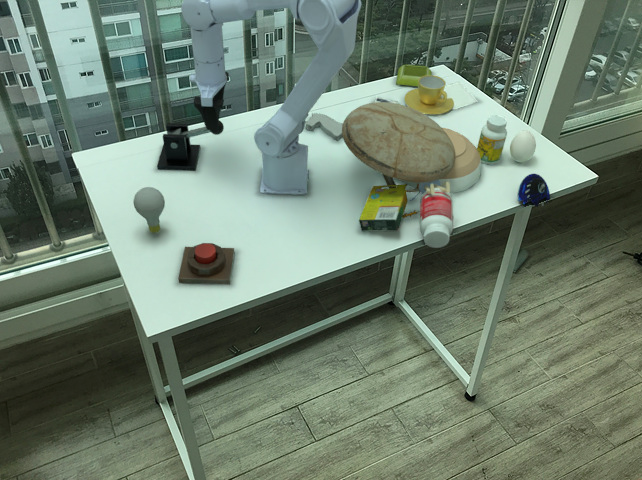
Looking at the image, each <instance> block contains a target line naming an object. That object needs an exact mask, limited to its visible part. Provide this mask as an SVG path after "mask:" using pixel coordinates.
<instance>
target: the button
mask: <svg viewBox="0 0 642 480" xmlns="http://www.w3.org/2000/svg"><path fill="white" fill-rule="evenodd" d="M209 243H210V242H203V244H202V243H199V244H200V245H199V244H197V245H198V246H197V247H196V249H195V256H196V260H197V262H199V263H200V264H210V263H212V262H214V261H215V259H216V249H215V247H214V246H213V245H212V244H209Z"/></svg>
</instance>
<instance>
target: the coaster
mask: <svg viewBox="0 0 642 480" xmlns="http://www.w3.org/2000/svg"><path fill="white" fill-rule="evenodd" d="M444 91H445V92H446V93H447V99H448V98H452V99H453V101H454V106H453V107H452V109H451V110H452V111H455V110H458V109H460V108H463V107H467V106H470V105H472V104H476V103H479V101H478V99H476V97H475V96H474V95H473V94H472V93H471V92H470V91H469V90H468V89H467V88H466V87H465V86H464V84H462V83H461V82H460V81H456V82H453V83H449V84H446V85H445V88H444ZM441 98H442V99H443V95H441Z"/></svg>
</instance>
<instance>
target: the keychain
mask: <svg viewBox="0 0 642 480" xmlns="http://www.w3.org/2000/svg"><path fill="white" fill-rule="evenodd" d="M418 213H420V210H419V211H416V209H415V210H413V211H411V212H410V213H407V212H404V215H403V218H407V217H410V218H411V217H412V216H414V215H417V214H418ZM403 218H402V219H403Z"/></svg>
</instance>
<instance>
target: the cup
mask: <svg viewBox="0 0 642 480" xmlns="http://www.w3.org/2000/svg"><path fill="white" fill-rule="evenodd" d="M446 85H447V83H446V80H445V79H444V78H443V77H440V76H439V75H435V74H432V75H426V76H422V77H420V78H419V80H418V86H417V88H413V89H410V90H408V91H407V92H406V94H405V95H404V97H403V98H404V99H403V101H404V103H405V105H406V106H407V107H410V108H413V109H415V110H417V111H419V112H421V113H423V114H425V115H441V114H445V113H448V112H449V111H451V110H452V107H453V106H454V101H453V99H452V98H448V99H447V93H446V92H445V91H444V88H445V86H446ZM441 95H443V99H442V98H441Z"/></svg>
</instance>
